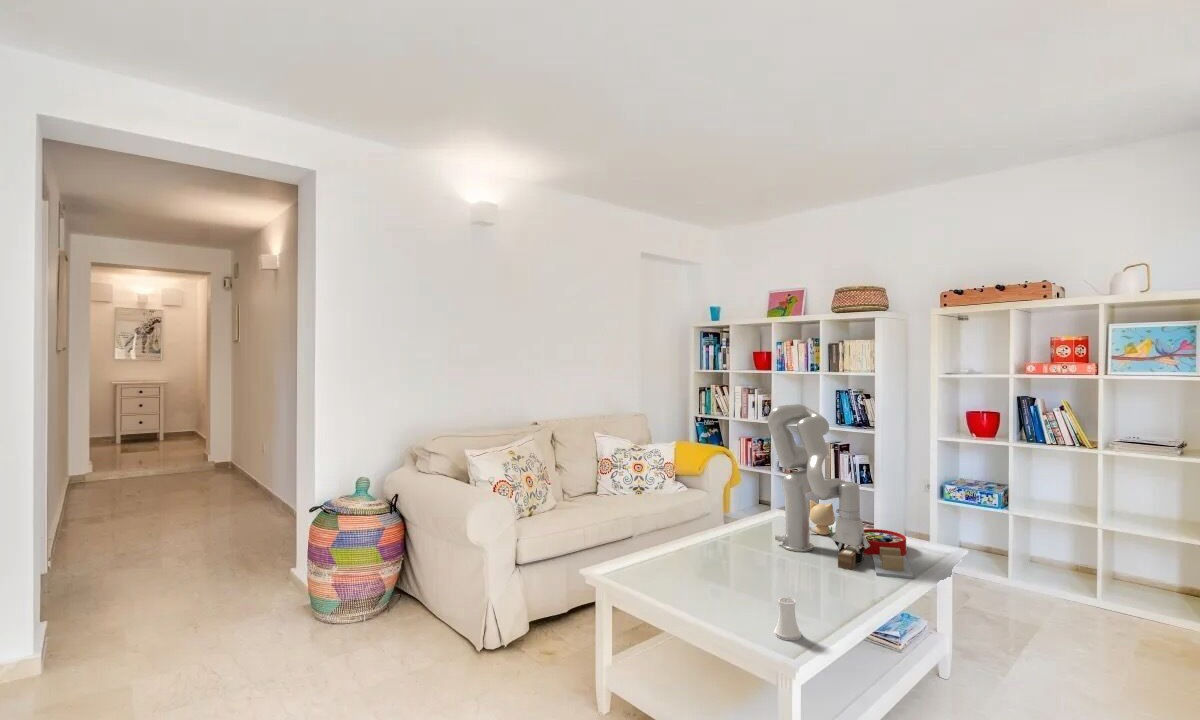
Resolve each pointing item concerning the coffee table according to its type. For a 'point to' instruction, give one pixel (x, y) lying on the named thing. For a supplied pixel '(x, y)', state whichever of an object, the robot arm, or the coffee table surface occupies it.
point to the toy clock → (883, 541)
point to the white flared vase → (787, 620)
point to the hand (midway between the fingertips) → (850, 560)
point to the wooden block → (847, 558)
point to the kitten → (821, 517)
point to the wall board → (891, 572)
